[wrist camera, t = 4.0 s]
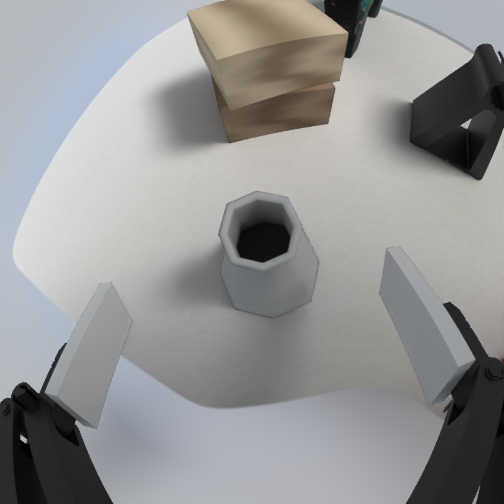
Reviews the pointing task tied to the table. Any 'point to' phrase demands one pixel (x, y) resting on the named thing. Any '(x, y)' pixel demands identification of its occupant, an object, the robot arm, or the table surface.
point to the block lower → (277, 112)
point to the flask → (266, 255)
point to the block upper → (267, 47)
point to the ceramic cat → (352, 18)
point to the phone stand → (463, 113)
